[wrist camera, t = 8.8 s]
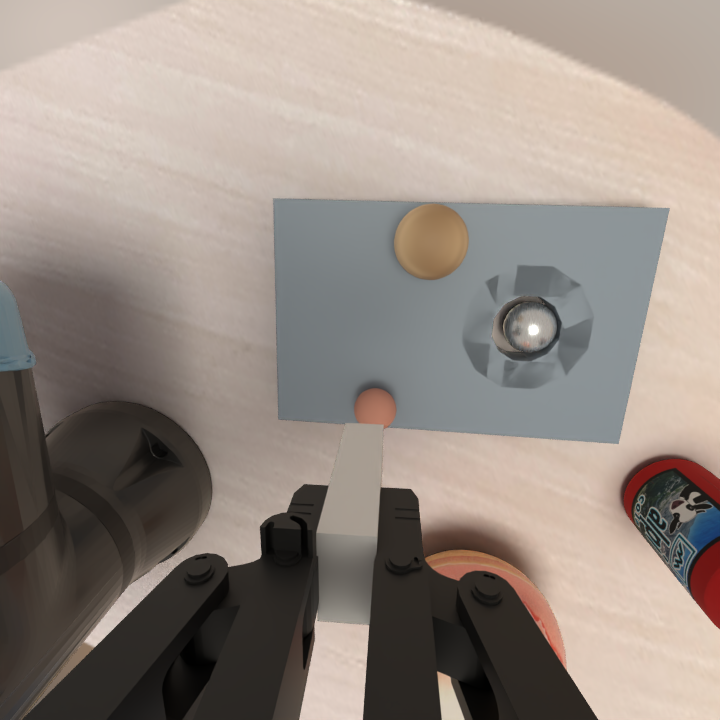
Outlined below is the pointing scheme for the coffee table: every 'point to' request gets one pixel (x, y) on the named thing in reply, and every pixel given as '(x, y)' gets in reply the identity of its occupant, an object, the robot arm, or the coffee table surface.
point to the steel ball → (530, 326)
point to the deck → (463, 317)
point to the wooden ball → (431, 241)
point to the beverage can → (681, 524)
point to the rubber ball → (375, 407)
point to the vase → (468, 561)
